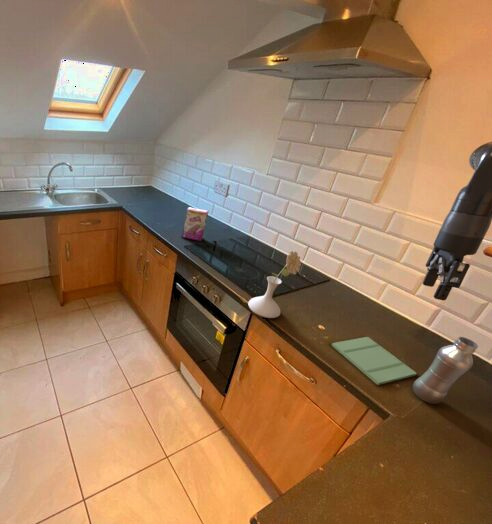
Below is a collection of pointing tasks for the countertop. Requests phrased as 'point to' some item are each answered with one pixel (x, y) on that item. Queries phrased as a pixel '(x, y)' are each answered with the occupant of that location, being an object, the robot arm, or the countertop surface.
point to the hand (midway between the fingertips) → (432, 292)
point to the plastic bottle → (445, 370)
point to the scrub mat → (373, 360)
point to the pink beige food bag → (195, 223)
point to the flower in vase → (265, 303)
